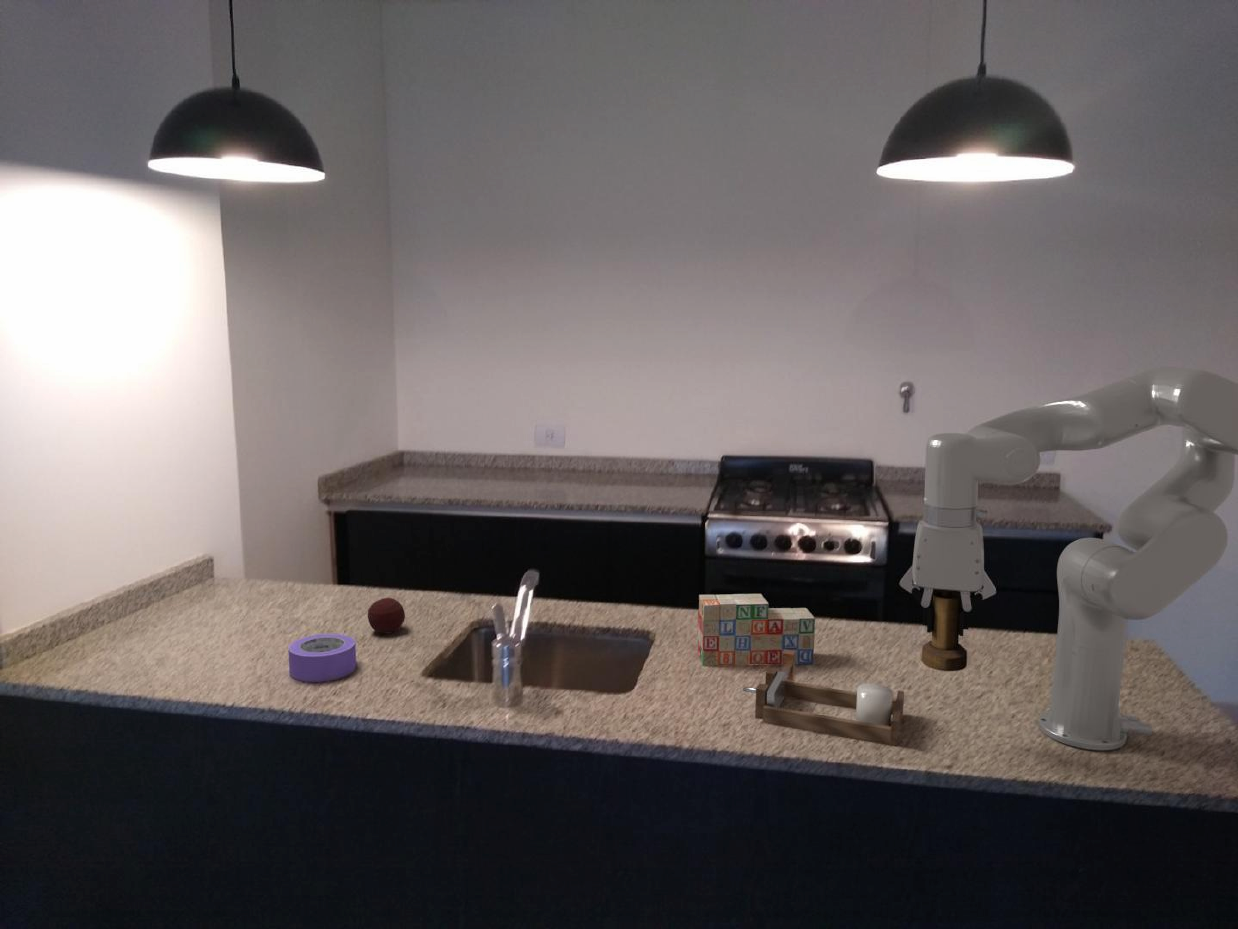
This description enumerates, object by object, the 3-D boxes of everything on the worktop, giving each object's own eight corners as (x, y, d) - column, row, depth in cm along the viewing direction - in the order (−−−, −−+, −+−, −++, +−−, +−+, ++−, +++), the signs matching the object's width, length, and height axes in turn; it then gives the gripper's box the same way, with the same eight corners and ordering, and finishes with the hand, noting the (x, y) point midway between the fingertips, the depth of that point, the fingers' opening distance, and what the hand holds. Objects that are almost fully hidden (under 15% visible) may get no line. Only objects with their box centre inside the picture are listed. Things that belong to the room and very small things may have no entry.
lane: (902, 714, 150) (904, 685, 149) (896, 746, 139) (898, 715, 138) (769, 692, 158) (770, 665, 157) (753, 720, 147) (754, 691, 146)
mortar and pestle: (913, 663, 140) (918, 551, 136) (933, 651, 144) (938, 543, 141) (955, 675, 135) (960, 559, 132) (974, 663, 139) (980, 550, 136)
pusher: (794, 682, 162) (795, 650, 161) (775, 719, 147) (777, 685, 146) (758, 676, 164) (759, 645, 163) (736, 712, 149) (737, 678, 148)
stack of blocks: (805, 653, 176) (807, 592, 174) (813, 665, 170) (816, 603, 168) (697, 654, 175) (698, 593, 173) (701, 666, 169) (703, 604, 167)
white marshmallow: (892, 721, 147) (894, 686, 146) (888, 735, 142) (891, 700, 141) (857, 715, 149) (859, 681, 148) (853, 729, 144) (855, 694, 143)
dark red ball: (361, 635, 183) (360, 602, 182) (381, 623, 190) (380, 591, 189) (393, 640, 181) (392, 606, 180) (412, 627, 188) (411, 595, 187)
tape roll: (333, 653, 174) (332, 628, 173) (369, 668, 167) (368, 643, 166) (277, 671, 165) (275, 645, 164) (312, 688, 158) (310, 661, 157)
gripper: (1009, 513, 136) (1003, 629, 139) (894, 507, 142) (891, 618, 145) (1011, 525, 129) (1004, 646, 132) (889, 518, 135) (886, 634, 138)
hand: (945, 630), depth 138 cm, fingers closed on mortar and pestle, 3 cm apart
